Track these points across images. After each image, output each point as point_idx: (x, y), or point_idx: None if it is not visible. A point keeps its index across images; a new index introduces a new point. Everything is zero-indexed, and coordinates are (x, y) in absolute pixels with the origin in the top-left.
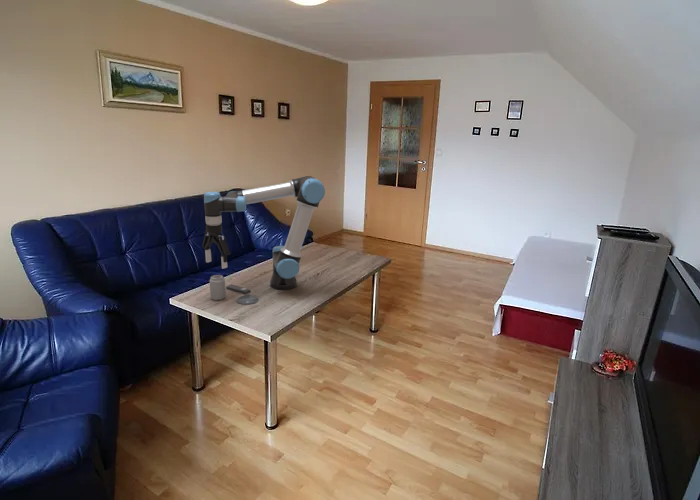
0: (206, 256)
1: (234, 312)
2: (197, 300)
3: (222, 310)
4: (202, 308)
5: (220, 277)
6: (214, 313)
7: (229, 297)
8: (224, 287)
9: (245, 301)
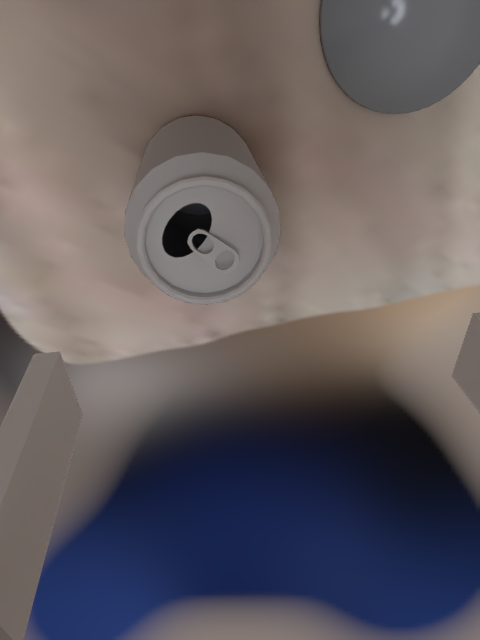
0: (56, 503)
1: (462, 217)
2: (145, 291)
3: (382, 253)
4: (271, 317)
5: (222, 210)
6: (373, 300)
7: (248, 97)
8: (257, 165)
9: (432, 60)
